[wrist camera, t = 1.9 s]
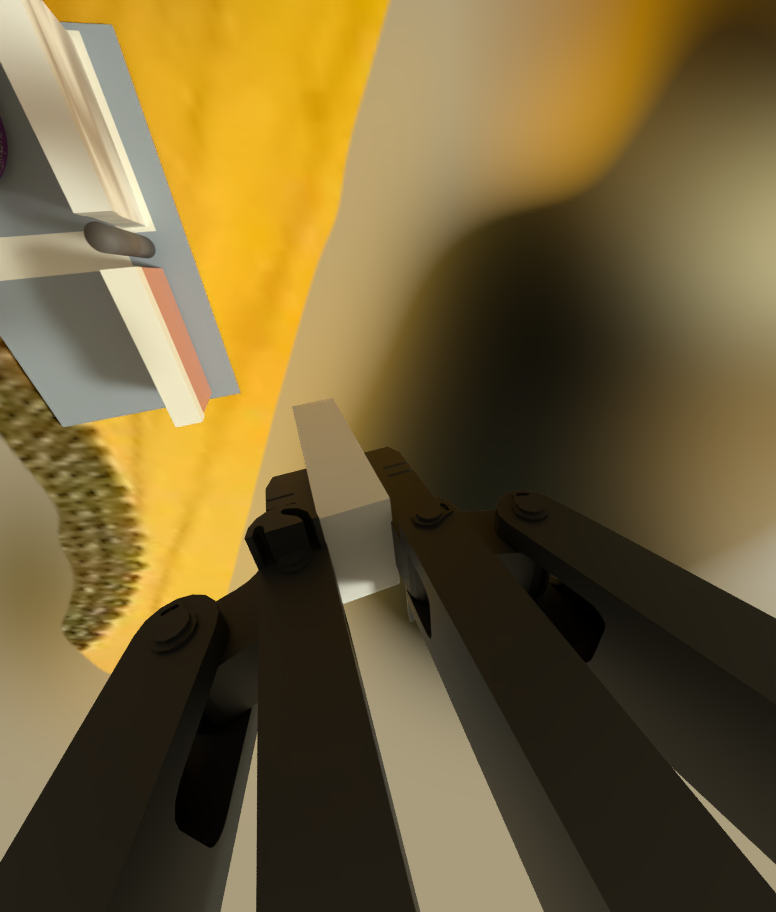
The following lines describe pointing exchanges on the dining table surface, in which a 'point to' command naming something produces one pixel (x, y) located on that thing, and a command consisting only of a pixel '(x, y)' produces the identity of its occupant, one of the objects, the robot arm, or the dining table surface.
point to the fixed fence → (70, 125)
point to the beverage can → (3, 148)
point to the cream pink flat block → (161, 340)
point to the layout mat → (91, 259)
